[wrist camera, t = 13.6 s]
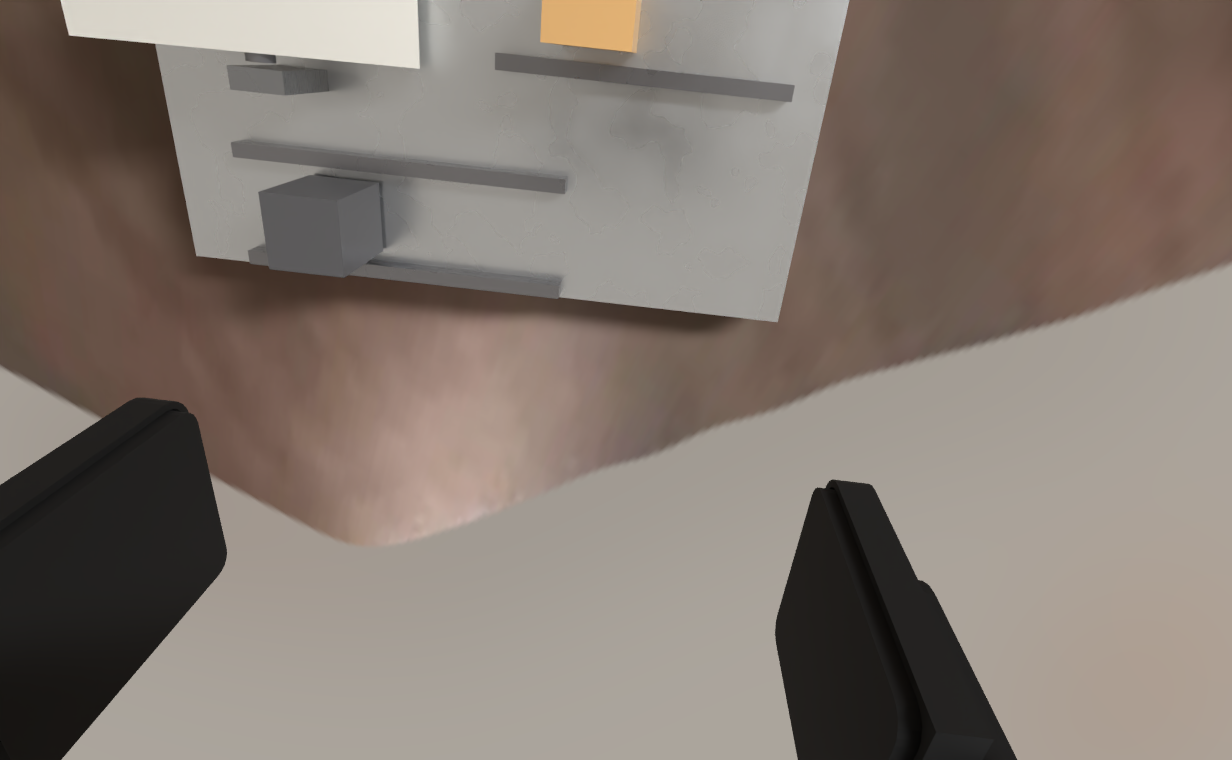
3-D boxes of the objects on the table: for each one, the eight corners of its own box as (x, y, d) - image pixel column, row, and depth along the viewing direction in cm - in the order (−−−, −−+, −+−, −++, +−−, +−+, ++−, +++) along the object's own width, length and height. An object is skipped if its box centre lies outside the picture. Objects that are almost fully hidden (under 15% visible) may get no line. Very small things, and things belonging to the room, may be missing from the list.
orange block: (563, -28, 24) (543, -46, 20) (643, -20, 24) (639, -35, 20) (559, 45, 25) (540, 42, 21) (636, 53, 25) (631, 51, 21)
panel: (168, -160, 26) (24, -224, 20) (850, -88, 25) (906, -132, 20) (234, 239, 33) (142, 278, 27) (768, 300, 32) (791, 352, 27)
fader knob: (309, 174, 28) (258, 191, 24) (378, 182, 28) (337, 200, 24) (317, 243, 29) (269, 269, 26) (383, 251, 29) (344, 277, 26)
